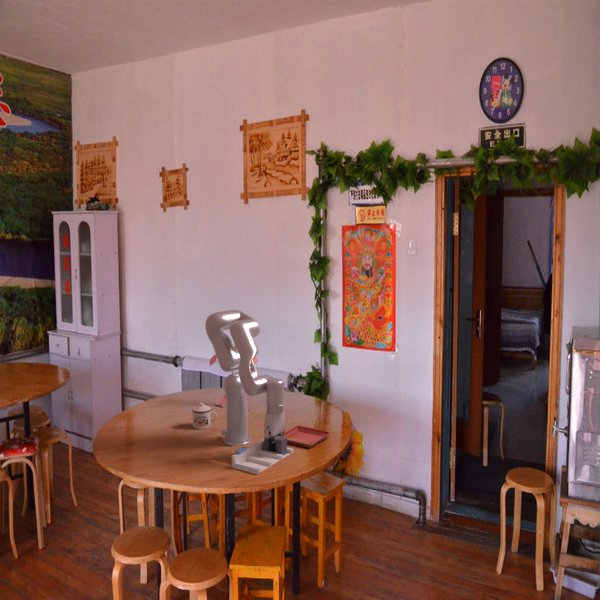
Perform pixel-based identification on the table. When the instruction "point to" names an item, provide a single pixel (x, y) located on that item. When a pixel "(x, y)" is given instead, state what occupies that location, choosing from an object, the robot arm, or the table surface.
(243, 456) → the white ribbed panel
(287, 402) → the table surface
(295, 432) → the plant saucer
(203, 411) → the teacup with lid
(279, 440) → the block
